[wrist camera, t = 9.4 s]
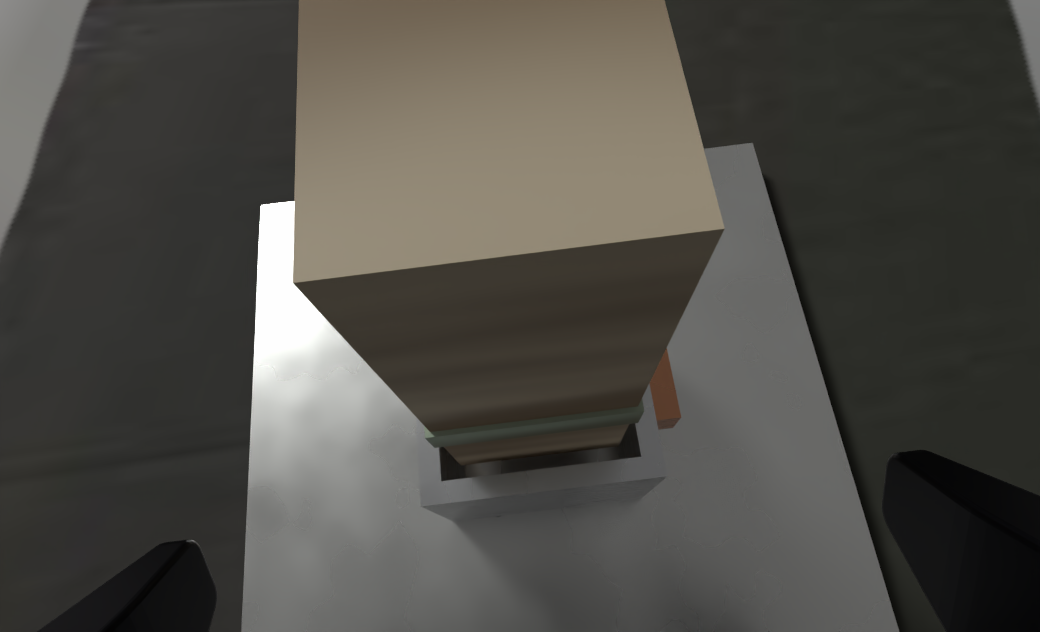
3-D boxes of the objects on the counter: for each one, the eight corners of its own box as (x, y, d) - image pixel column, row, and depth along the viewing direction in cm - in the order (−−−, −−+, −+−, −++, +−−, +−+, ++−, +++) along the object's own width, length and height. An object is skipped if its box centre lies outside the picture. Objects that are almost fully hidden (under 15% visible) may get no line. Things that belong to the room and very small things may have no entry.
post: (623, 449, 15) (739, 237, 6) (456, 470, 15) (280, 294, 6) (596, 296, 17) (652, -82, 7) (445, 316, 17) (291, -36, 7)
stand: (901, 707, 18) (1060, 771, 12) (254, 784, 18) (115, 882, 12) (743, 162, 24) (798, 41, 19) (274, 221, 24) (190, 119, 19)
